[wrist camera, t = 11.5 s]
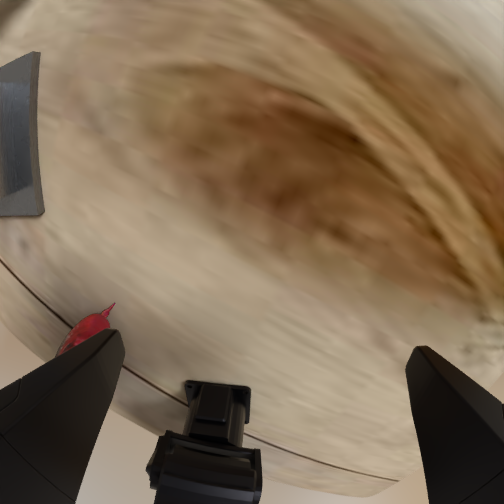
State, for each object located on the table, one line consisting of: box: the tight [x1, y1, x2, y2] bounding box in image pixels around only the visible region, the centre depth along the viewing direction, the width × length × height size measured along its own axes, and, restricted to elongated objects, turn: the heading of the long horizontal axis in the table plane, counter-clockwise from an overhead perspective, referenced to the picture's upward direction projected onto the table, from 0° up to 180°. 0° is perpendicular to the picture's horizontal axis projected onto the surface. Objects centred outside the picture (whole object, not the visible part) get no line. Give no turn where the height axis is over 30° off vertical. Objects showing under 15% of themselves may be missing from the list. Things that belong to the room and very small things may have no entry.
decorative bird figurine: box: [55, 303, 115, 357], centre depth 21 cm, size 3×18×10 cm, turn 132°
